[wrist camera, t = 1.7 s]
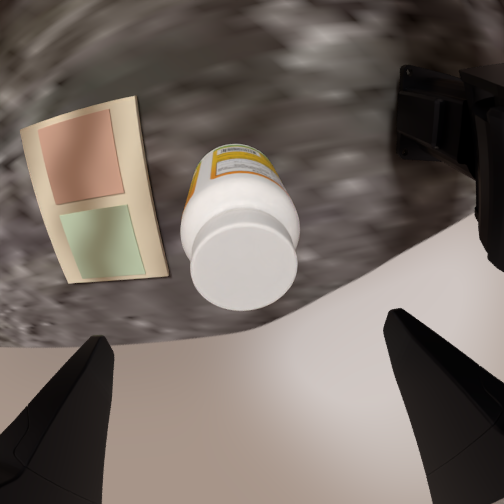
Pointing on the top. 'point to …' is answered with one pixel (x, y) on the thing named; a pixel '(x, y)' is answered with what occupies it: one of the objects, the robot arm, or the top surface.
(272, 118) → the top surface
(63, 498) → the robot arm
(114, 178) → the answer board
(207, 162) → the supplement bottle
